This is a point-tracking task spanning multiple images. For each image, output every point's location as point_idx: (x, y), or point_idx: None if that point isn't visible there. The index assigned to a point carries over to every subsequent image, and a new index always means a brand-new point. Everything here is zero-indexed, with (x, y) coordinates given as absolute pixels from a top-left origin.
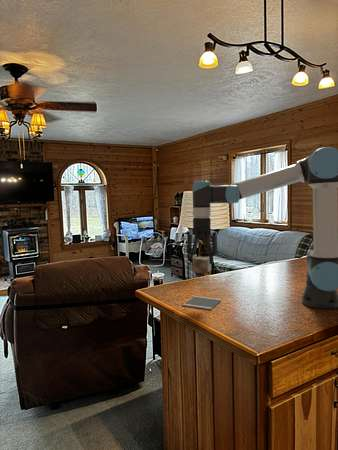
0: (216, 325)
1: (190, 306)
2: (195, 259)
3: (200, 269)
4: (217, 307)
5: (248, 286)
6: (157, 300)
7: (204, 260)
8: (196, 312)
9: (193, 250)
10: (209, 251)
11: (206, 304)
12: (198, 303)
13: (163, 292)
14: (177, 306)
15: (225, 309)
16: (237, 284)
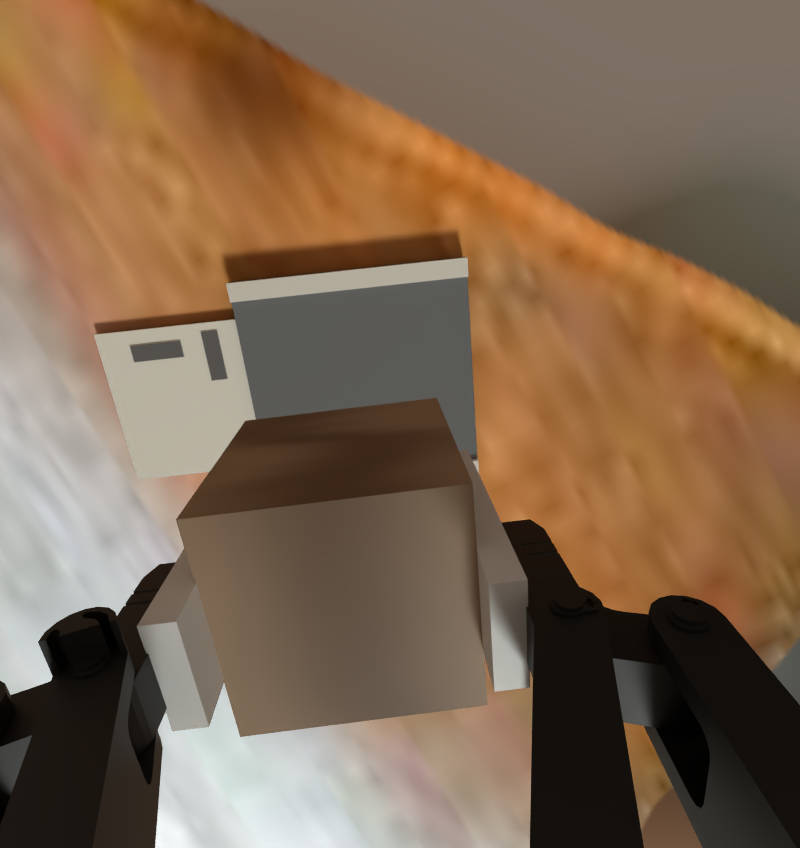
0: (24, 16)
1: (397, 265)
2: (412, 485)
3: (322, 430)
4: (222, 361)
5: (289, 816)
6: (710, 298)
7: (215, 509)
8: (313, 208)
9: (550, 680)
10: (62, 744)
11: (313, 362)
12: (376, 353)
13: (743, 476)
14: (507, 255)
15: (150, 351)
16: (365, 818)
